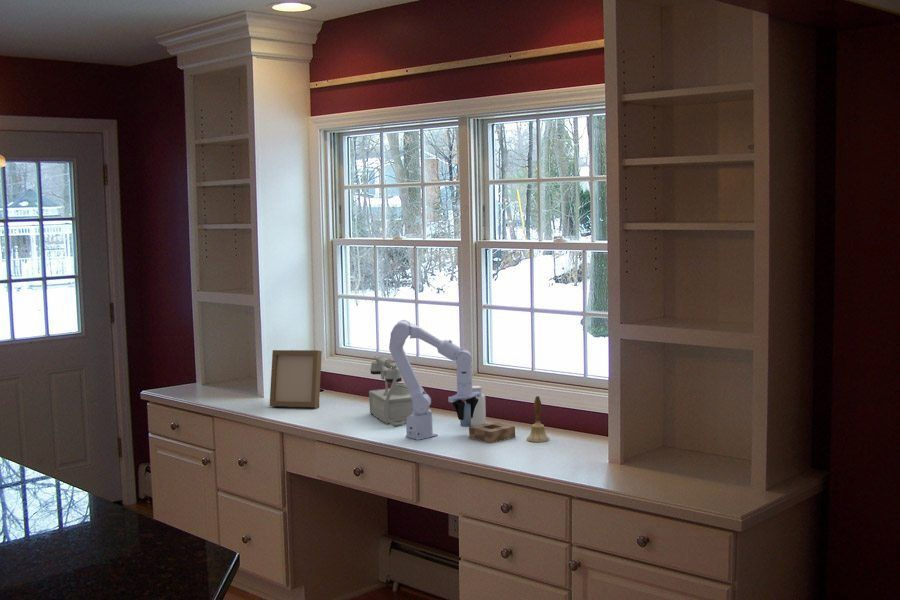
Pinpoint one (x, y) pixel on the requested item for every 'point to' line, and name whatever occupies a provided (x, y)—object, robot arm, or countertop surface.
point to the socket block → (491, 432)
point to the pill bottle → (479, 408)
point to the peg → (466, 416)
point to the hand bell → (537, 425)
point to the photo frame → (295, 378)
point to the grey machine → (390, 394)
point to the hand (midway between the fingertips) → (465, 418)
